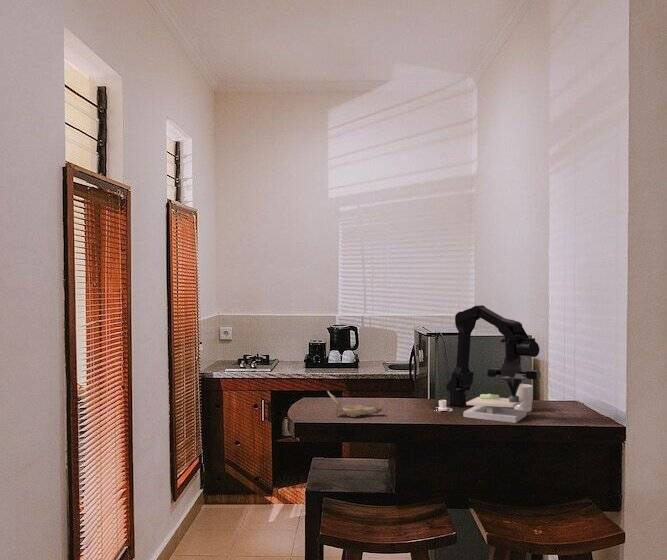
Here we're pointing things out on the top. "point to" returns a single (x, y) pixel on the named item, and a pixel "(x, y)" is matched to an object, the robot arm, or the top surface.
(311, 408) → the top surface
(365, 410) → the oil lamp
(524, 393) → the white cup
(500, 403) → the instrument plate
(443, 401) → the teacup and saucer
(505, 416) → the instrument base
